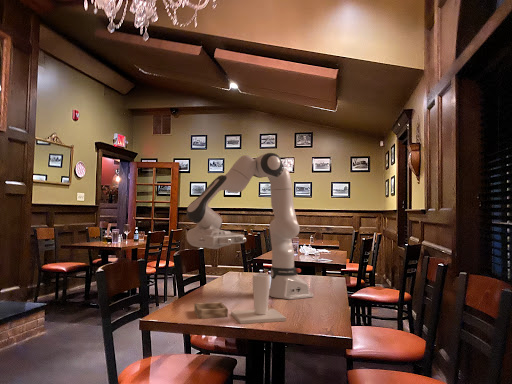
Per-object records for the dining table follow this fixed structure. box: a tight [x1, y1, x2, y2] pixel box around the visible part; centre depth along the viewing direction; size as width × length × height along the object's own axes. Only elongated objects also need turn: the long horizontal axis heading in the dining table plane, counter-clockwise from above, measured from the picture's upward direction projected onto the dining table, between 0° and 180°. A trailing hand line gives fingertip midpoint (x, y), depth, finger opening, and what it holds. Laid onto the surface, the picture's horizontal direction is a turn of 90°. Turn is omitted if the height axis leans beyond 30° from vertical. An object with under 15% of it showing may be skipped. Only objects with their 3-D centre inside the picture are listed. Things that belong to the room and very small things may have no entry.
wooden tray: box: [193, 301, 229, 320], centre depth 149 cm, size 11×11×3 cm
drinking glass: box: [252, 272, 271, 315], centre depth 147 cm, size 7×7×15 cm
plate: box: [230, 308, 287, 325], centre depth 145 cm, size 18×14×1 cm
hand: (237, 240), depth 155 cm, fingers open, 8 cm apart
